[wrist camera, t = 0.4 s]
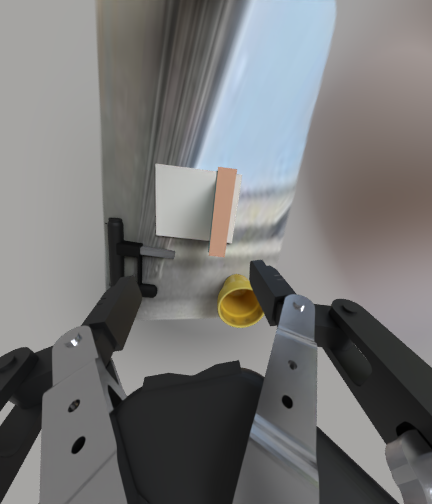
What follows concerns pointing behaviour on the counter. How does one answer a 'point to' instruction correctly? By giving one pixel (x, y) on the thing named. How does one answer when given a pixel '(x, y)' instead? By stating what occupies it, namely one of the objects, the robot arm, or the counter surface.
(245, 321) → the plant pot
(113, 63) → the counter surface
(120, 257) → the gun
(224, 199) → the terracotta tile
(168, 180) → the grey mat
